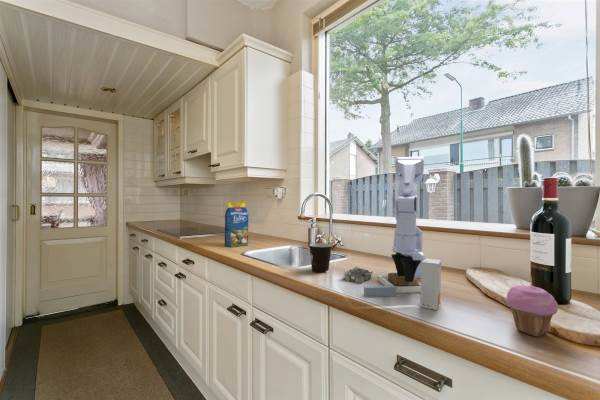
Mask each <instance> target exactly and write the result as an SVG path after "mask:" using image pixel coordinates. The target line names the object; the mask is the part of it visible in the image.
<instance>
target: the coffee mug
mask: <svg viewBox="0 0 600 400" xmlns="http://www.w3.org/2000/svg"><path fill="white" fill-rule="evenodd" d="M332 247H333V246H332V244H329V243H310V244H309V255H310V264H311V272H313V273H315V274H316V273H317V274H318V273H319V274H325V273H327V272H328V271H329V268H330V260H331V253H332Z"/></svg>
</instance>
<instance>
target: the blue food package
mask: <svg viewBox="0 0 600 400" xmlns="http://www.w3.org/2000/svg"><path fill="white" fill-rule="evenodd" d="M224 215H225V216H224V247H227V246H228V248H236V247H244V246H249V211H248V210H247V207H246V202H227V209H226V210H225V214H224Z"/></svg>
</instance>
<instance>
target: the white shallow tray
mask: <svg viewBox="0 0 600 400" xmlns="http://www.w3.org/2000/svg"><path fill="white" fill-rule="evenodd" d="M377 281H378V282H379V283H381V285H382V286H394V285H393V284H391V283H390V282H388V275H377ZM402 293H403V294H404V293H405V294H406V293H407V294H409V293H421V282H420V283H419V282H418V286H404V287H396V294H402Z"/></svg>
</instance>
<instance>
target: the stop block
mask: <svg viewBox="0 0 600 400" xmlns="http://www.w3.org/2000/svg"><path fill="white" fill-rule="evenodd" d="M363 296H364V297H366V298H367V297H395V296H397V293H396V287H395V286H384V285H365V286H363Z"/></svg>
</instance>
